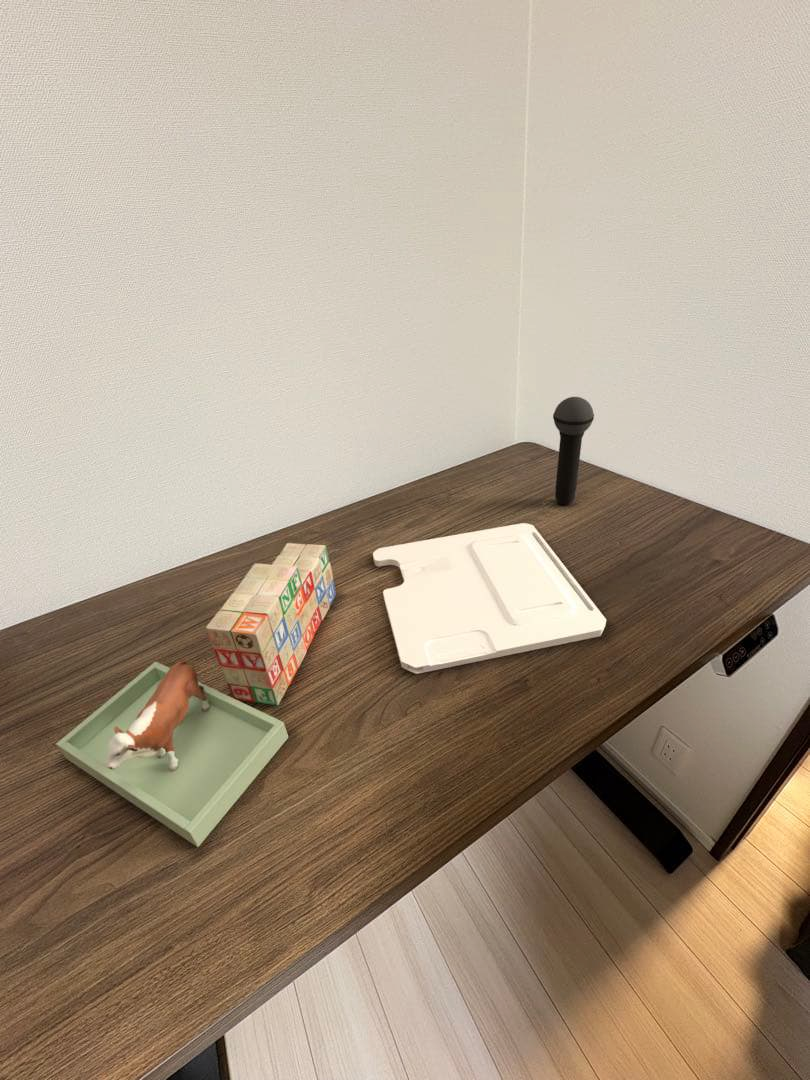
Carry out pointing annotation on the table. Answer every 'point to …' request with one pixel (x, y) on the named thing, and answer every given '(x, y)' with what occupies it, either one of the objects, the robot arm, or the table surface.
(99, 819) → the table surface
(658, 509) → the table surface
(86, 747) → the tray
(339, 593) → the table surface
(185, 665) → the bull figurine
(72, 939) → the table surface
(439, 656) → the tray
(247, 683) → the stack of blocks
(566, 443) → the microphone
